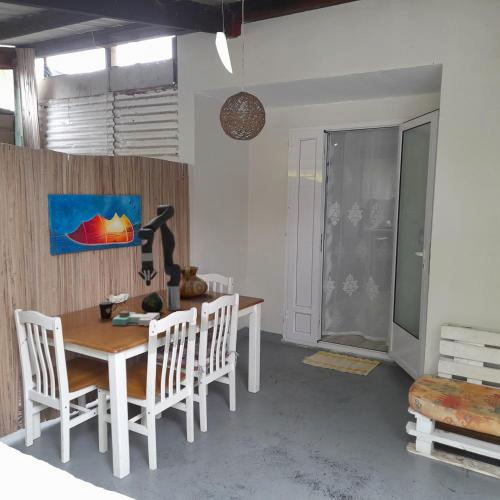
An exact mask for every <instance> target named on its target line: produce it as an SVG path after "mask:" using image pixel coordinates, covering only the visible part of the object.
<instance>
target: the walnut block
mask: <svg viewBox="0 0 500 500" xmlns="http://www.w3.org/2000/svg"><path fill="white" fill-rule="evenodd" d="M130 312H131V311H128V310H121V311H120V312H119V314H118V315H119V317H128V316H129V315H130Z"/></svg>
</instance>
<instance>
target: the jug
mask: <svg viewBox="0 0 500 500" xmlns="http://www.w3.org/2000/svg"><path fill="white" fill-rule="evenodd" d="M180 268H181V281H180V299H197V298H199V296H200V297H201V296H203V295H204V294H206V292H208V290H209V286H208V284H207V282H206V281H205V280H204V279H202V278H200V277H198V276H197V273H198V270H199V267H198V266H189V265H187V266H180ZM196 297H197V298H196Z"/></svg>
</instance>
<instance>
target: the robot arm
mask: <svg viewBox="0 0 500 500" xmlns="http://www.w3.org/2000/svg"><path fill="white" fill-rule="evenodd" d="M156 215H157V216H156V217H154V218H152V219H151V220H150V221H149V222H148V223H147V224H146V225H144V226H142V227H141V228H140V229H138V231H137V237H138V239H139V240H141V241H142V240H143V241H146V242H145V243H142V244H141V245H140V262H141V269H140V270H139V271H138V272H137V274H138V275H139V276H140V277H141V278H142V280H143V281H145V285H146V286H147V287H150V286H151V285H152V284H151V283H152V281H151V280H153V279H154V278H155V277H156V276H157V274H158V271H156V270H155V267H154V254H153V244H154V239H155V233H156V232H157V231H158V230H160V236H161V237H160V241H161V247H162V253H163V254H162V255H163V269H164V274H166V275H167V276H169V280H168V281H167V280H166V281H167V282H166V309H167V310H169V311H177V310H180V308H181V298H180V281H181V277H182V274H181V265H180V264H178V263H174V260H173V255H174V251H175V248H176V241H175V235H174V233H173V232H172V230H171V229H170V227H168V224H167V222H168V221H169V220H170V219H172V218H173V216H174V215H175V208H174V207H173V205H171V204H164V205H163V204H162V205H158V206H157V208H156Z"/></svg>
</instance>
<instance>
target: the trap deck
mask: <svg viewBox="0 0 500 500" xmlns="http://www.w3.org/2000/svg"><path fill="white" fill-rule="evenodd" d="M160 314H161V313H159V312H156V313H155V312H154V313H145V314H144V313H137V312H134V311H133V312H132V311H130V315H129V316H128V317H119V314H118V315H116V316H114V318H112V325H113V326H134V325H144V326H143V327H149V326H148V325H149V322H150V321H151V320H153V319H156V320H157V321H159V320H160V319H159V318H161V317H160ZM158 319H159V320H158Z"/></svg>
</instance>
